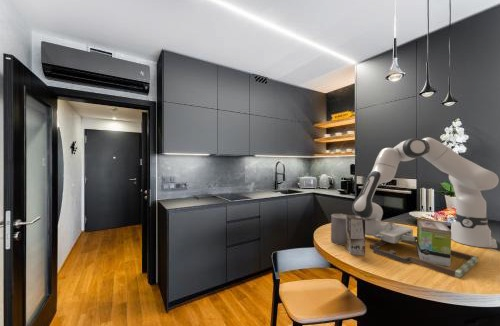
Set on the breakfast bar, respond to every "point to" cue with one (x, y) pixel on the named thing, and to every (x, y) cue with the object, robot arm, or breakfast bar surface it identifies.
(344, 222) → the pillar candle
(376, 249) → the channel
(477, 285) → the breakfast bar surface
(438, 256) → the tea box
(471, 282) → the breakfast bar surface
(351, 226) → the coffee box
